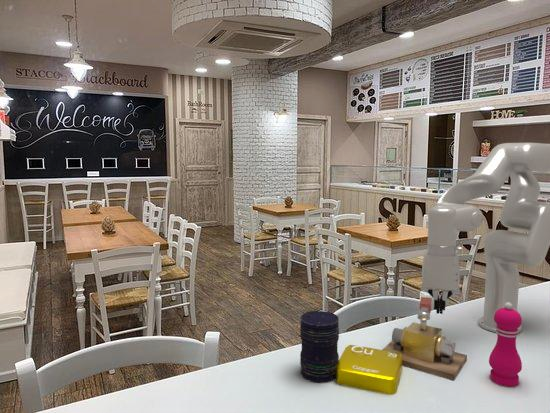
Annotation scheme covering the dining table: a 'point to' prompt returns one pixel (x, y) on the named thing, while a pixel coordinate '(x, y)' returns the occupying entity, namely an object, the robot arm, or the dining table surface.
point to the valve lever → (425, 308)
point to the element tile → (369, 369)
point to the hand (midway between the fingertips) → (439, 312)
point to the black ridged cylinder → (319, 346)
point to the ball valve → (423, 342)
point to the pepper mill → (506, 347)
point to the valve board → (433, 368)
